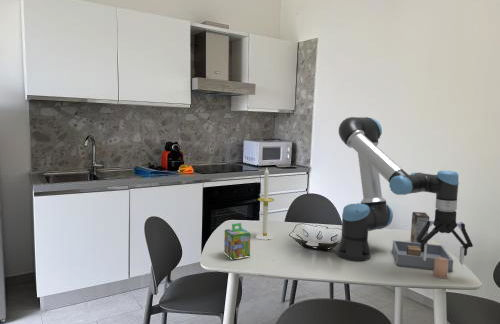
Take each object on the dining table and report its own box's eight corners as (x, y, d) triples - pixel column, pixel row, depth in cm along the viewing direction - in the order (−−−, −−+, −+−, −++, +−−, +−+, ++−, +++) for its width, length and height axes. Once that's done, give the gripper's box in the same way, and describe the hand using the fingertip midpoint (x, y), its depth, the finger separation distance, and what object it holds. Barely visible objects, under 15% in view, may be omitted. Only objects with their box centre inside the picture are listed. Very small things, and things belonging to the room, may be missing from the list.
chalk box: (231, 261, 161) (232, 228, 160) (223, 254, 169) (224, 222, 168) (250, 257, 166) (251, 225, 164) (241, 251, 174) (242, 220, 172)
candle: (257, 233, 201) (258, 165, 196) (275, 235, 199) (277, 166, 194) (253, 239, 191) (255, 167, 187) (272, 241, 189) (275, 168, 185)
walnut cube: (420, 261, 165) (420, 250, 164) (408, 259, 166) (408, 248, 165) (418, 257, 169) (418, 246, 169) (406, 255, 171) (407, 245, 170)
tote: (397, 265, 160) (397, 254, 160) (392, 250, 179) (393, 240, 179) (452, 271, 155) (453, 260, 154) (441, 255, 174) (442, 245, 173)
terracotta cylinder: (434, 277, 149) (436, 260, 148) (432, 272, 154) (433, 256, 153) (448, 279, 148) (449, 262, 147) (445, 274, 153) (446, 257, 152)
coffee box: (409, 241, 193) (412, 211, 191) (422, 242, 192) (425, 212, 190) (413, 247, 184) (416, 215, 183) (427, 248, 183) (430, 216, 181)
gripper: (413, 209, 147) (410, 261, 149) (484, 214, 141) (480, 268, 143) (410, 205, 154) (408, 255, 157) (477, 209, 148) (474, 261, 150)
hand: (442, 261), depth 150 cm, fingers open, 13 cm apart
